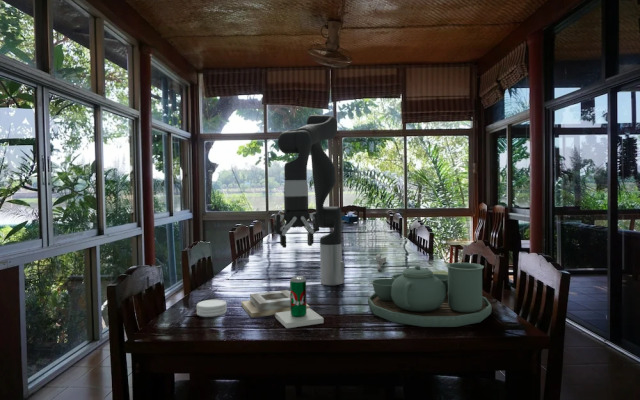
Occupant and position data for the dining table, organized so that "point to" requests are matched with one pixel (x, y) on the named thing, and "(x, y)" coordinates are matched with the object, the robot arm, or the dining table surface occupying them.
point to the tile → (298, 319)
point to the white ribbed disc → (211, 308)
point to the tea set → (432, 297)
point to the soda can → (298, 296)
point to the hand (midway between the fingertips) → (297, 246)
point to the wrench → (380, 261)
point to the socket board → (261, 313)
